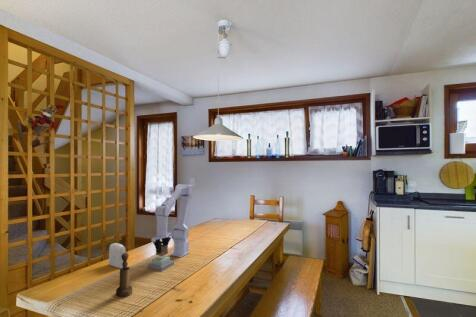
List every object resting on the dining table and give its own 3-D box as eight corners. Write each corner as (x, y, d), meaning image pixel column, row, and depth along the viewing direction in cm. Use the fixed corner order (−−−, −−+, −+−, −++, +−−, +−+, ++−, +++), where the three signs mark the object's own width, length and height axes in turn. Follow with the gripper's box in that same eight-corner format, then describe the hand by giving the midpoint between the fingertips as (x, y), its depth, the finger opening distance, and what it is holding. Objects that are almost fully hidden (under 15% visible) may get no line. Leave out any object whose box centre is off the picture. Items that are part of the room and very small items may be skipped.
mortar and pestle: (134, 290, 119) (135, 250, 119) (129, 297, 112) (129, 255, 112) (119, 290, 119) (120, 250, 119) (113, 297, 112) (114, 255, 112)
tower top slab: (160, 259, 151) (160, 254, 151) (170, 261, 148) (170, 257, 148) (151, 263, 144) (152, 259, 144) (161, 265, 142) (161, 261, 142)
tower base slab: (160, 262, 153) (160, 258, 153) (174, 265, 149) (174, 261, 149) (147, 268, 144) (148, 264, 144) (162, 272, 139) (162, 267, 139)
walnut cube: (161, 252, 149) (161, 244, 149) (167, 253, 147) (167, 245, 147) (155, 254, 145) (156, 246, 145) (162, 256, 143) (162, 248, 143)
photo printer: (126, 266, 145) (126, 244, 145) (119, 269, 141) (119, 246, 141) (114, 262, 150) (115, 241, 150) (107, 265, 146) (108, 243, 146)
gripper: (158, 231, 138) (158, 256, 138) (176, 225, 151) (175, 248, 151) (148, 229, 141) (148, 254, 141) (166, 223, 154) (165, 246, 154)
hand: (161, 251), depth 146 cm, fingers closed on walnut cube, 4 cm apart
